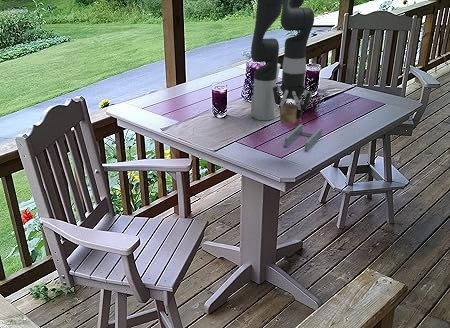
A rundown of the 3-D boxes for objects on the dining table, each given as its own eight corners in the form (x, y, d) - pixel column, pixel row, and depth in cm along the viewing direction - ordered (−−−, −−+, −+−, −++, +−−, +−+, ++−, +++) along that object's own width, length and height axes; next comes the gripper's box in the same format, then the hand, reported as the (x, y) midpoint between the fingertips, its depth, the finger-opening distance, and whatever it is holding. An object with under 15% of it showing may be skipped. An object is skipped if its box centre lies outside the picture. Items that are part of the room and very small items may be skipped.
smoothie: (278, 85, 259) (280, 57, 252) (266, 84, 260) (267, 57, 254) (280, 81, 264) (281, 54, 258) (267, 80, 266) (269, 53, 259)
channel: (284, 146, 193) (284, 138, 192) (299, 132, 206) (300, 123, 204) (307, 151, 190) (307, 143, 188) (321, 136, 202) (322, 128, 201)
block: (279, 121, 177) (280, 107, 175) (285, 116, 181) (286, 102, 179) (293, 123, 175) (294, 109, 173) (298, 118, 179) (299, 105, 177)
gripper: (269, 69, 171) (267, 117, 179) (310, 75, 165) (306, 124, 173) (278, 63, 177) (275, 110, 185) (318, 69, 171) (313, 117, 179)
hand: (290, 117), depth 179 cm, fingers closed on block, 5 cm apart
